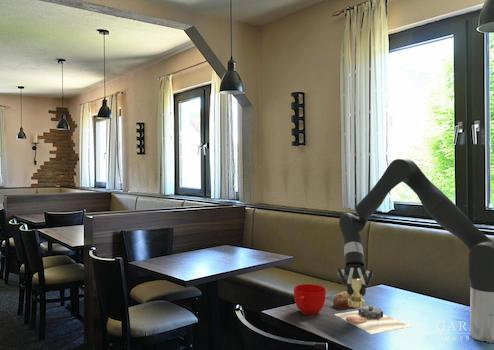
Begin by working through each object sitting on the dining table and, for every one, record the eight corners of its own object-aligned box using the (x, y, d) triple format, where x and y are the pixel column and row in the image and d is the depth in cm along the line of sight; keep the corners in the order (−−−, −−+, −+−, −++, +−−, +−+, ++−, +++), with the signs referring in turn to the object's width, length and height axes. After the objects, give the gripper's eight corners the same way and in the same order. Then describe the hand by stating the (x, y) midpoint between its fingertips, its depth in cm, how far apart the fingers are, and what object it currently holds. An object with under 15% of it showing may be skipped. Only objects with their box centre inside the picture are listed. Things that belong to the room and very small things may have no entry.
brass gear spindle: (367, 306, 164) (368, 280, 163) (354, 308, 161) (354, 281, 161) (357, 301, 169) (357, 276, 169) (344, 303, 167) (344, 277, 166)
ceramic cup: (284, 317, 171) (285, 292, 171) (300, 305, 186) (300, 282, 186) (316, 323, 165) (316, 297, 165) (329, 310, 180) (330, 286, 180)
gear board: (410, 330, 158) (411, 317, 158) (371, 338, 151) (371, 324, 151) (370, 312, 179) (370, 300, 178) (334, 318, 171) (334, 305, 171)
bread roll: (344, 310, 192) (337, 292, 194) (364, 304, 186) (357, 286, 188) (333, 316, 185) (326, 297, 187) (354, 310, 179) (346, 291, 181)
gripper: (336, 250, 173) (337, 289, 161) (373, 251, 171) (377, 290, 159) (335, 260, 178) (336, 298, 167) (371, 261, 176) (375, 300, 165)
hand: (356, 294), depth 163 cm, fingers closed on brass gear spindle, 4 cm apart
